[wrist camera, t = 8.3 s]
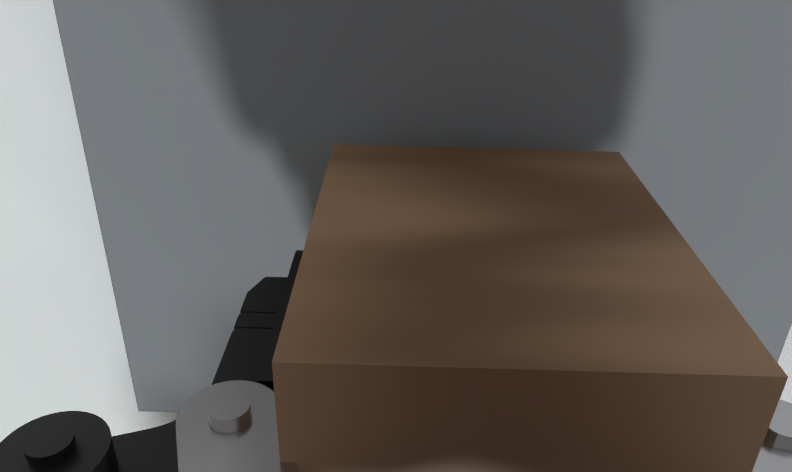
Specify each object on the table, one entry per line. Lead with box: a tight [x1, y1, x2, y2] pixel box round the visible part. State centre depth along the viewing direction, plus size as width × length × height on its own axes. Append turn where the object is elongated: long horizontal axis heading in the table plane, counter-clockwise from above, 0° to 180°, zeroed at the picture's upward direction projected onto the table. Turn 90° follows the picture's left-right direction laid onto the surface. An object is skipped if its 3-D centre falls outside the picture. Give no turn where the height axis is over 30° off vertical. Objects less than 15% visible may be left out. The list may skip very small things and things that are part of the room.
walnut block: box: [272, 144, 788, 472], centre depth 10 cm, size 5×5×6 cm
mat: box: [53, 0, 792, 412], centre depth 14 cm, size 15×10×1 cm, turn 89°
